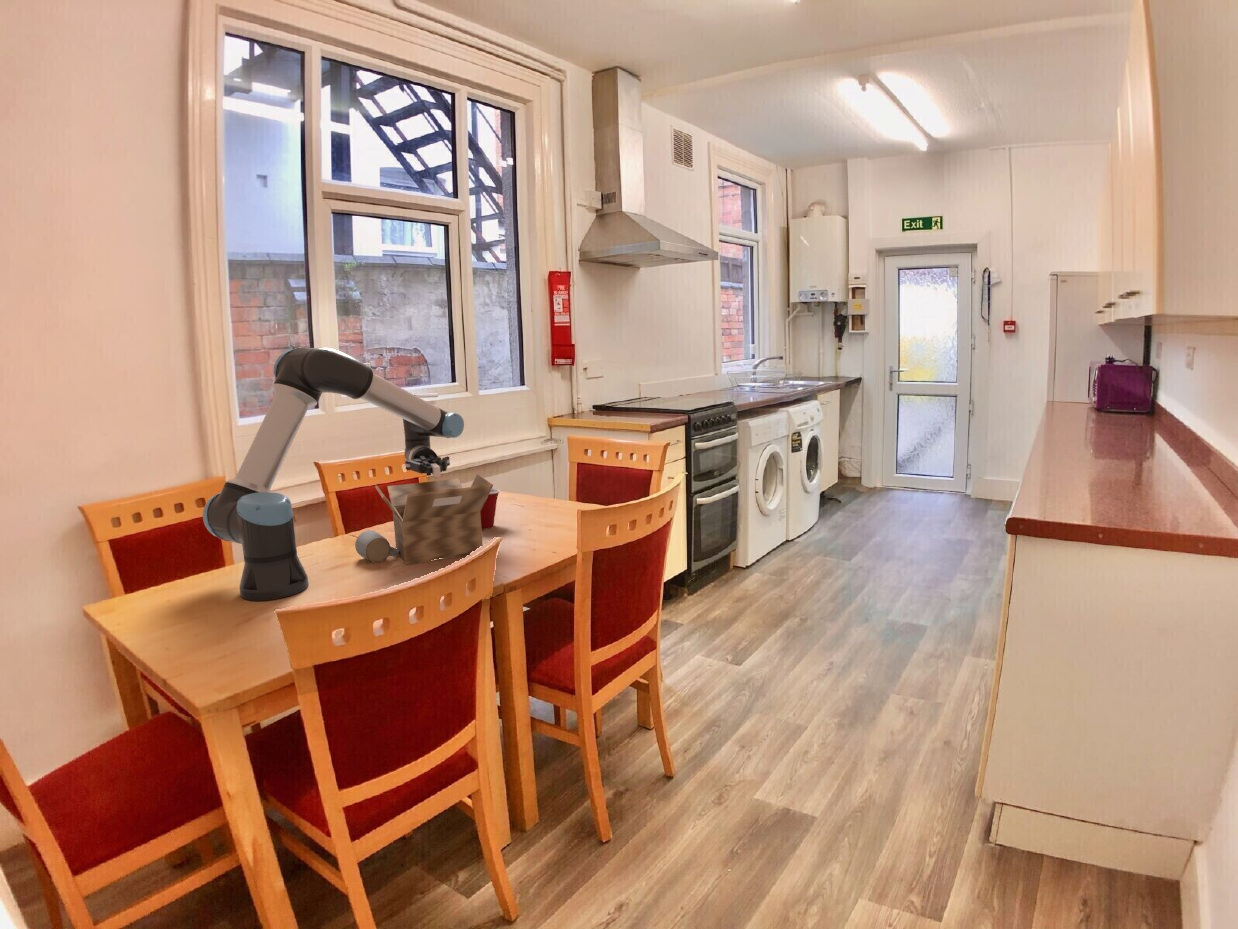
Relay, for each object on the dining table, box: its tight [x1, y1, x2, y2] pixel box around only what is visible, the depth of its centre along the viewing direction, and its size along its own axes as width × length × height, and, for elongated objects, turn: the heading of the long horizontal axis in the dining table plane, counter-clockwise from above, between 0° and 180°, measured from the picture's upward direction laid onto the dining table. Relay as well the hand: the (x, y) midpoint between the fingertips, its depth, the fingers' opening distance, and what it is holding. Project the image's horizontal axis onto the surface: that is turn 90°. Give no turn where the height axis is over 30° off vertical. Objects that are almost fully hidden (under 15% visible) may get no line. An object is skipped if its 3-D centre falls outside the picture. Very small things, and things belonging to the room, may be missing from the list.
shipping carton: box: [374, 474, 494, 566], centre depth 209 cm, size 30×26×19 cm
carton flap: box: [403, 485, 490, 522], centre depth 189 cm, size 20×17×1 cm
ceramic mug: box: [354, 529, 400, 564], centre depth 201 cm, size 11×8×8 cm
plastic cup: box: [480, 488, 501, 530], centre depth 230 cm, size 11×11×12 cm
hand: (437, 472), depth 199 cm, fingers closed
